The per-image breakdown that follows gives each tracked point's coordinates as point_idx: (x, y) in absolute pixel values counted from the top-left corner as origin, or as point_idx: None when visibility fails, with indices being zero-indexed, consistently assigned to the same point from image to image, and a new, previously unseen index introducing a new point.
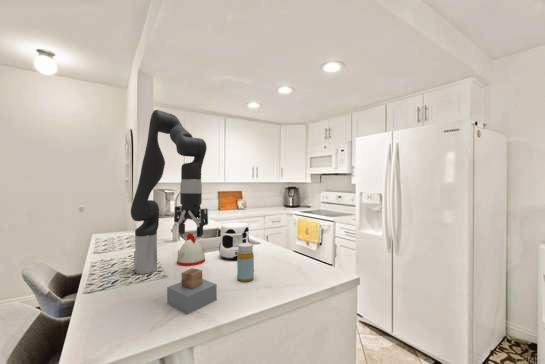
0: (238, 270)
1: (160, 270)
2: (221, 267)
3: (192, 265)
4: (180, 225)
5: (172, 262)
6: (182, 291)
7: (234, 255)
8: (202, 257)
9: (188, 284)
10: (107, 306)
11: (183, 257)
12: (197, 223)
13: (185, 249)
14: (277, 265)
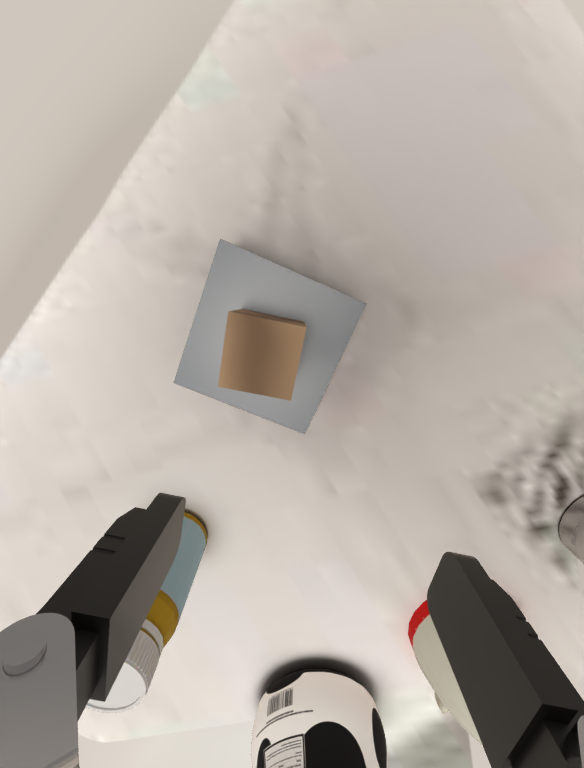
0: (182, 542)
1: (540, 535)
2: (315, 601)
3: None
4: (534, 685)
5: (534, 608)
6: (272, 280)
7: (294, 685)
8: (418, 648)
9: (262, 314)
10: (564, 222)
11: None
12: (11, 712)
13: None
14: None
